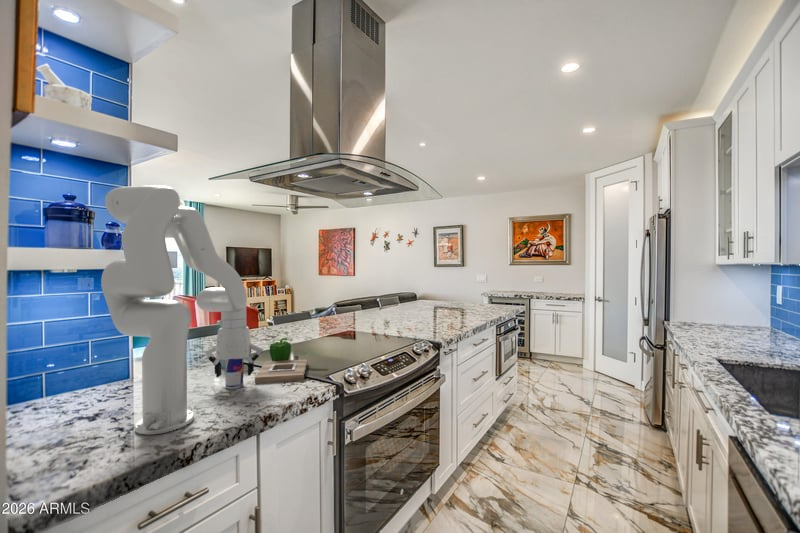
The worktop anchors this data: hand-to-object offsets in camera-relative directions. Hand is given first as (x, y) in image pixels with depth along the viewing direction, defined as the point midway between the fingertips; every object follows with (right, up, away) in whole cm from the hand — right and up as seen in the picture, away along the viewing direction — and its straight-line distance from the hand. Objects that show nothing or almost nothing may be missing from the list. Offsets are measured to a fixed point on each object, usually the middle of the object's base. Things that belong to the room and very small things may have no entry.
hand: (234, 375), depth 119 cm
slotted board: (+11, -4, +14) cm, 19 cm away
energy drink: (0, -4, 0) cm, 4 cm away
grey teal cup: (-13, -4, +25) cm, 28 cm away
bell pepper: (+6, -4, +29) cm, 29 cm away
